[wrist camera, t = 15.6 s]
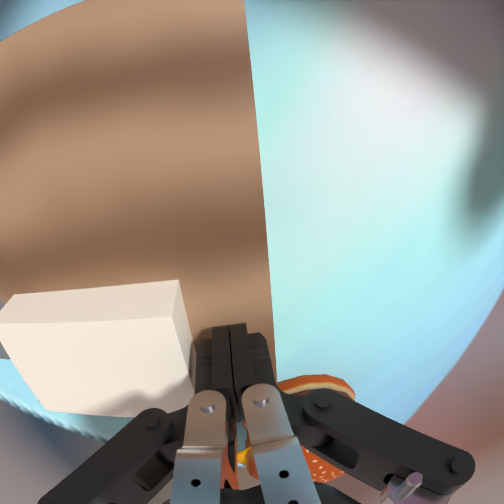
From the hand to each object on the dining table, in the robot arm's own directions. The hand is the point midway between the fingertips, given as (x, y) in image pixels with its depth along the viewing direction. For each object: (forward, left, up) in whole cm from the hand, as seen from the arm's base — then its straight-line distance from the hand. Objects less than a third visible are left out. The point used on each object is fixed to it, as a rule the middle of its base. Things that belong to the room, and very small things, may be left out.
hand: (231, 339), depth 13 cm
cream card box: (0, -6, -1) cm, 6 cm away
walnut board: (-5, -5, -4) cm, 8 cm away
